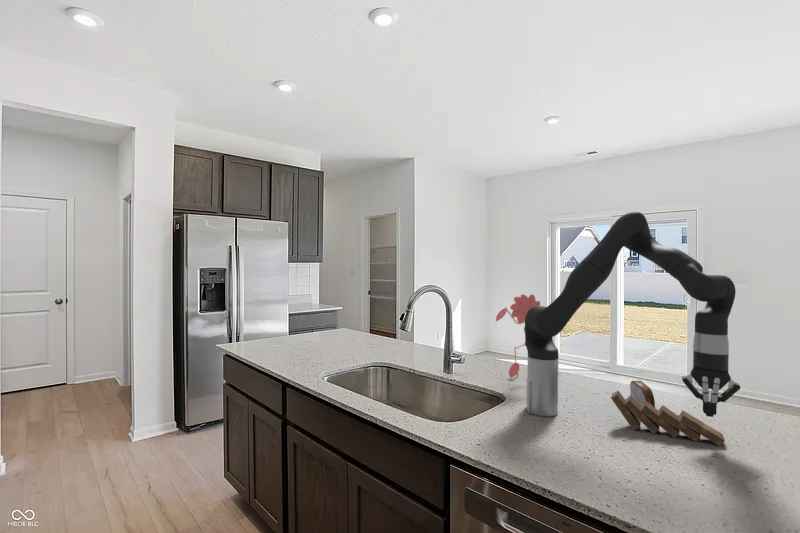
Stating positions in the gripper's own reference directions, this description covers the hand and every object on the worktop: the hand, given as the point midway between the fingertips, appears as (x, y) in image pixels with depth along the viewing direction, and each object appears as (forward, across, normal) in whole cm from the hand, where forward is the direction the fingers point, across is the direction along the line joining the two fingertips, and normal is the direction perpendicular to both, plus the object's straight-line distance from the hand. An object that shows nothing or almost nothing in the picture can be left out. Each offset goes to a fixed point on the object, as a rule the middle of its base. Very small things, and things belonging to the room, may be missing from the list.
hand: (709, 415), depth 111 cm
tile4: (+6, -2, 0) cm, 7 cm away
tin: (+7, -16, +20) cm, 26 cm away
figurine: (+7, -57, +31) cm, 65 cm away
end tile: (+6, +3, 0) cm, 6 cm away
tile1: (+6, -17, 0) cm, 18 cm away
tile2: (+6, -12, 0) cm, 13 cm away
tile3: (+6, -7, 0) cm, 9 cm away
